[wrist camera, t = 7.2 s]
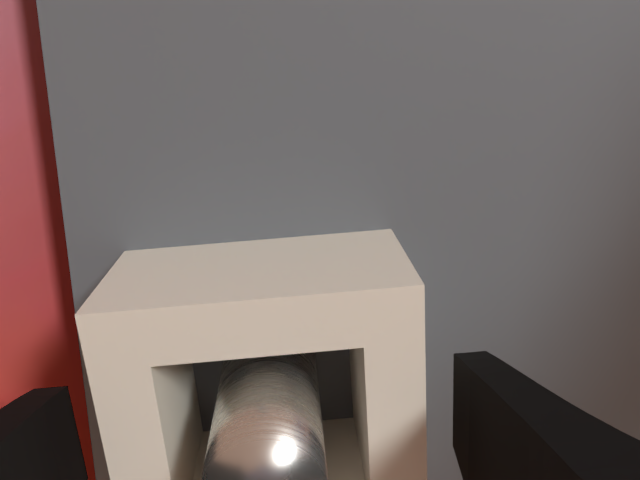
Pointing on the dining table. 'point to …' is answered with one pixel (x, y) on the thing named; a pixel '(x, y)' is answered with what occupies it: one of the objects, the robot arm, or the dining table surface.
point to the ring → (257, 346)
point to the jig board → (374, 167)
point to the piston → (267, 421)
